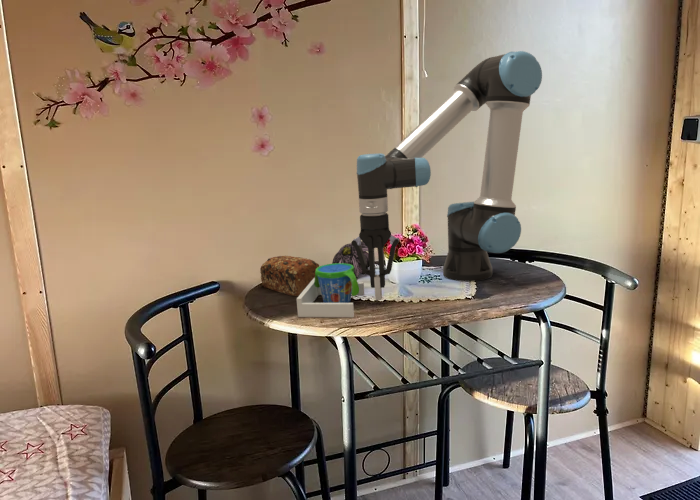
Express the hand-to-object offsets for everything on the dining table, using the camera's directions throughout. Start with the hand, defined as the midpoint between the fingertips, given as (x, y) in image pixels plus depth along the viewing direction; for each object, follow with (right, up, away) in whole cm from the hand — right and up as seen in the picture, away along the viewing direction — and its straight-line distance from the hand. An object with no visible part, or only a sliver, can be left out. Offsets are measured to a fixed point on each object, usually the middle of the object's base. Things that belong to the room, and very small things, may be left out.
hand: (378, 298), depth 149 cm
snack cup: (-11, -2, +3) cm, 12 cm away
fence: (-12, -2, +1) cm, 12 cm away
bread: (-26, +1, +19) cm, 32 cm away
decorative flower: (-7, +5, +31) cm, 32 cm away
